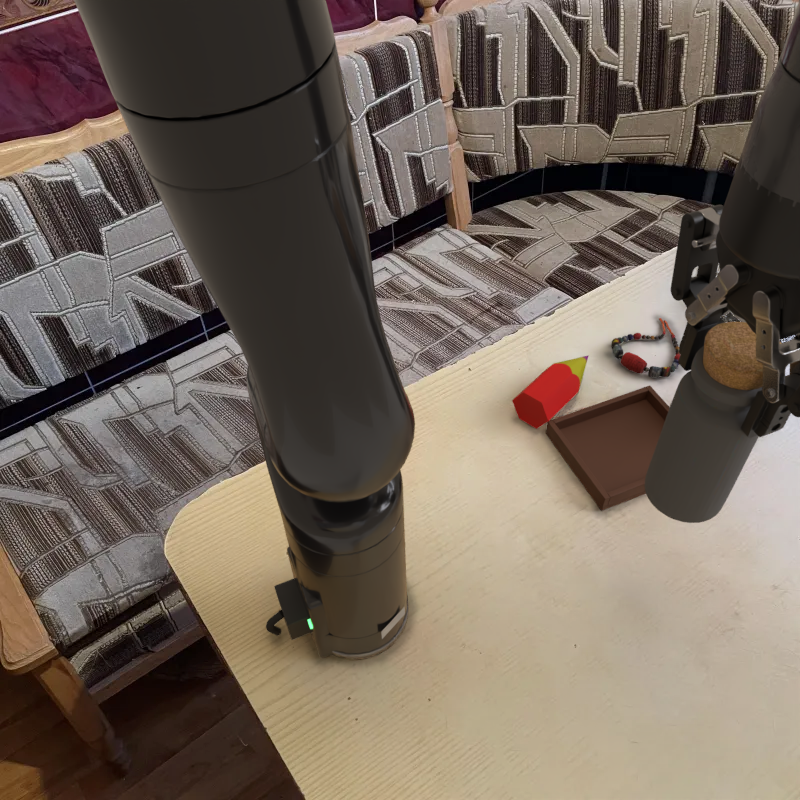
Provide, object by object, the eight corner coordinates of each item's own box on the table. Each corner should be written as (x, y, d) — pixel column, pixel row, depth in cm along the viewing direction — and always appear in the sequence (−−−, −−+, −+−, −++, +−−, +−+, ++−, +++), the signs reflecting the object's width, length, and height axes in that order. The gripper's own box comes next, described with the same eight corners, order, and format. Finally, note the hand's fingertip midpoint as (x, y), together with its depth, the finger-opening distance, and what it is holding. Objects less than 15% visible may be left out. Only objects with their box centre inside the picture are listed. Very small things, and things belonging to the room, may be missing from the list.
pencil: (603, 377, 89) (610, 351, 86) (545, 434, 83) (551, 408, 80) (568, 359, 91) (574, 333, 88) (509, 413, 85) (513, 386, 82)
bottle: (726, 530, 55) (803, 386, 44) (643, 516, 55) (697, 372, 44) (721, 467, 58) (790, 320, 47) (643, 455, 59) (693, 309, 48)
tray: (601, 511, 76) (605, 499, 75) (544, 433, 83) (547, 420, 82) (709, 469, 79) (714, 456, 78) (645, 397, 86) (650, 384, 85)
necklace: (598, 357, 91) (602, 345, 89) (643, 317, 97) (648, 304, 96) (658, 390, 87) (664, 377, 86) (701, 346, 93) (706, 333, 92)
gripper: (670, 112, 41) (613, 343, 53) (879, 263, 31) (750, 499, 44) (783, 85, 42) (702, 314, 55) (1011, 220, 33) (852, 458, 46)
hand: (724, 395), depth 49 cm, fingers closed on bottle, 5 cm apart
